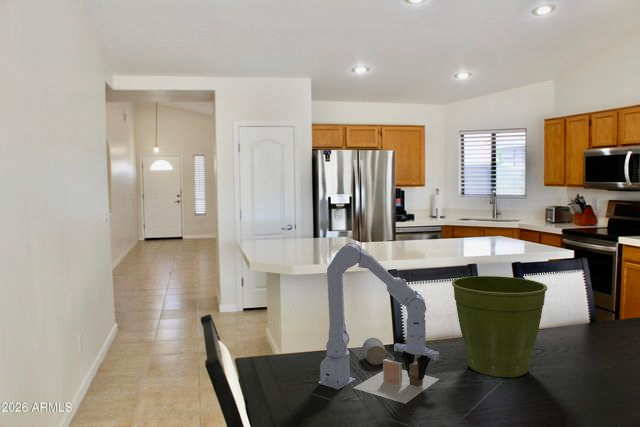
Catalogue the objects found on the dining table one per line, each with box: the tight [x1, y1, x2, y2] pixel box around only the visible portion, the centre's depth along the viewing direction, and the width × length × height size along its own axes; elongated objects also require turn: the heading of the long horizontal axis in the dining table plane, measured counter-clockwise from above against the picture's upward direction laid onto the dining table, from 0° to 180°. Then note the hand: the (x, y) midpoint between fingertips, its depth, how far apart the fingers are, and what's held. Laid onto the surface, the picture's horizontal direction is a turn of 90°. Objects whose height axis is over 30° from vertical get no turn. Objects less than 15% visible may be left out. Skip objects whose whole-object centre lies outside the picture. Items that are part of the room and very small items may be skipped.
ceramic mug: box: [362, 337, 395, 366], centre depth 174 cm, size 11×8×8 cm
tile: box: [382, 359, 403, 386], centre depth 154 cm, size 1×6×7 cm, turn 51°
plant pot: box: [451, 275, 548, 378], centre depth 166 cm, size 30×30×29 cm
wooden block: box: [409, 360, 423, 387], centre depth 153 cm, size 3×3×6 cm
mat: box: [353, 369, 440, 405], centre depth 154 cm, size 22×18×1 cm
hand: (416, 377), depth 153 cm, fingers open, 3 cm apart
